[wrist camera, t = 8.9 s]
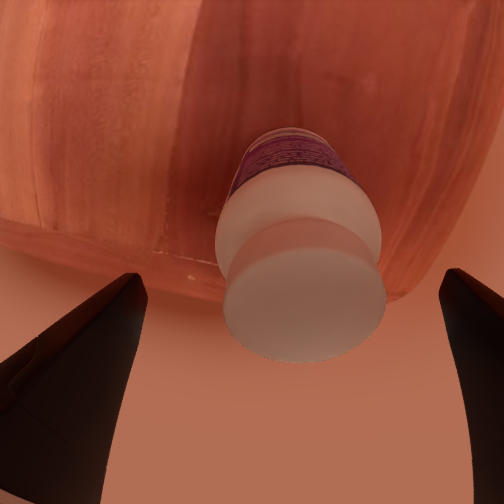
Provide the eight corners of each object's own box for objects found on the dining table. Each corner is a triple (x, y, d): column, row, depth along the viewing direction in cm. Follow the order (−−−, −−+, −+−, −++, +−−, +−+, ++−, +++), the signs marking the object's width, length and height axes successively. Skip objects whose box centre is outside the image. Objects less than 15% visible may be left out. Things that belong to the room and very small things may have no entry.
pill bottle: (220, 151, 14) (145, 266, 6) (319, 110, 12) (395, 174, 4) (264, 235, 17) (251, 389, 9) (353, 203, 15) (416, 348, 7)
